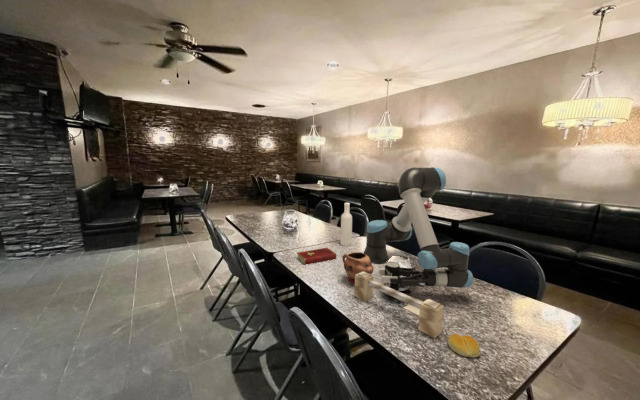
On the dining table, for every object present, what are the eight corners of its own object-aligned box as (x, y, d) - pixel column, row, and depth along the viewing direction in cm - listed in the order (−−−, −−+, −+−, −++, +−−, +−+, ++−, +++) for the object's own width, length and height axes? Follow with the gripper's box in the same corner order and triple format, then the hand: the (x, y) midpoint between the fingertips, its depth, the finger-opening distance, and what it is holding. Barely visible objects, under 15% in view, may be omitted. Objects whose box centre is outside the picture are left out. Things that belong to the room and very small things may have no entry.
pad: (403, 308, 105) (403, 307, 105) (417, 299, 112) (417, 298, 112) (430, 321, 97) (430, 320, 97) (442, 310, 104) (442, 309, 104)
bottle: (340, 242, 187) (341, 201, 182) (351, 242, 186) (352, 202, 182) (340, 246, 179) (341, 203, 174) (351, 246, 179) (353, 204, 174)
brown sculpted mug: (333, 277, 131) (333, 251, 129) (348, 271, 139) (349, 246, 137) (364, 292, 117) (365, 263, 115) (379, 284, 125) (381, 257, 123)
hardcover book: (336, 259, 156) (336, 253, 155) (304, 266, 146) (304, 259, 146) (327, 253, 166) (327, 247, 166) (296, 258, 157) (296, 252, 156)
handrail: (354, 296, 114) (355, 273, 112) (361, 292, 117) (362, 270, 115) (434, 338, 87) (437, 309, 86) (441, 332, 91) (443, 304, 89)
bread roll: (445, 338, 88) (446, 327, 87) (474, 343, 86) (475, 332, 85) (451, 355, 80) (452, 344, 79) (483, 361, 78) (484, 349, 77)
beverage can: (399, 294, 111) (401, 267, 109) (384, 292, 112) (385, 266, 110) (398, 286, 117) (399, 261, 115) (383, 285, 119) (384, 260, 117)
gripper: (442, 297, 104) (384, 294, 105) (425, 275, 123) (376, 273, 124) (443, 279, 102) (385, 277, 104) (426, 260, 122) (377, 259, 123)
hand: (380, 275), depth 114 cm, fingers closed on beverage can, 6 cm apart
